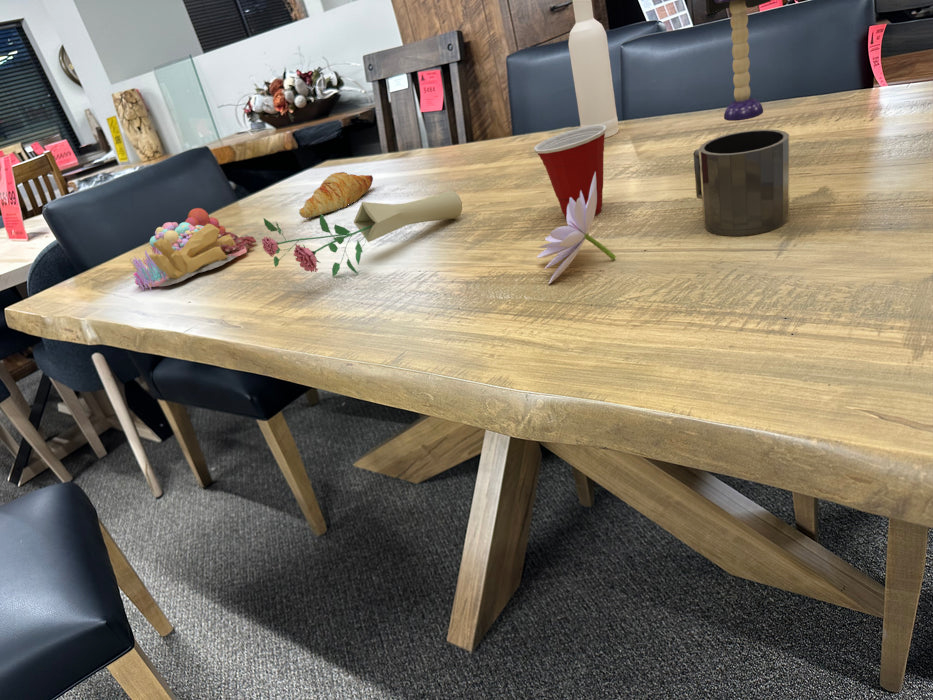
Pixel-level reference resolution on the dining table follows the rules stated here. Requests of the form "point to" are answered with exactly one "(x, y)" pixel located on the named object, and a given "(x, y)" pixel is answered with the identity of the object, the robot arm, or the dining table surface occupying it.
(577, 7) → the bottle
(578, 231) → the water lily
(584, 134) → the plastic cup
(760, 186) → the mug
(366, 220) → the flower vase
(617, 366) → the dining table surface
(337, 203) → the croissant
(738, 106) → the toy lamp
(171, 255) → the pastel sphere sculpture
